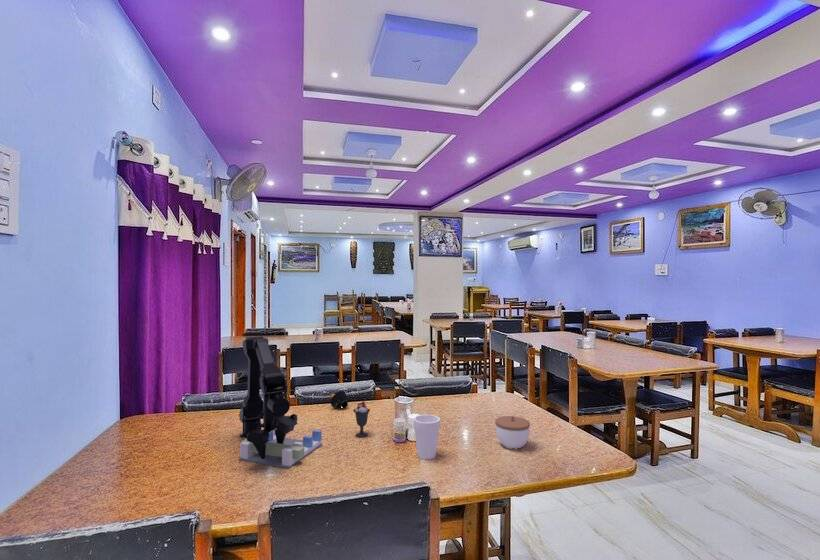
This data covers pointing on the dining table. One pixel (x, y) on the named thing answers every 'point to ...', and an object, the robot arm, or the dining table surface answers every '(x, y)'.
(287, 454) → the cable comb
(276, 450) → the green flat block
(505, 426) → the lidded bowl
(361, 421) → the sundae
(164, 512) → the dining table surface
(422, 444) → the foam cup
